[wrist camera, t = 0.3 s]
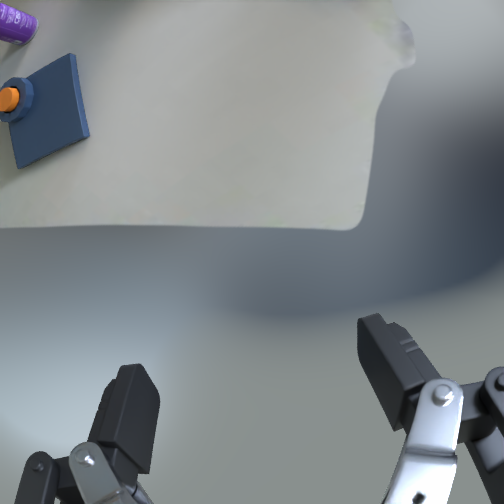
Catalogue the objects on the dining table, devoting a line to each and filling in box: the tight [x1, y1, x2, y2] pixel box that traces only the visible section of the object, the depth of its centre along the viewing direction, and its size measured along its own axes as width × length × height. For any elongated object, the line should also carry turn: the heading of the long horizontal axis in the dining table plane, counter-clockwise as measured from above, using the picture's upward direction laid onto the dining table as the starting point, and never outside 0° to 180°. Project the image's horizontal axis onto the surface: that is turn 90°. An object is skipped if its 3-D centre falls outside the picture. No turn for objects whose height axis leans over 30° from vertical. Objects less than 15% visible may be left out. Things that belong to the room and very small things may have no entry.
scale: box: [0, 53, 90, 169], centre depth 28 cm, size 12×12×4 cm
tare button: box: [0, 87, 20, 111], centre depth 24 cm, size 3×3×2 cm
